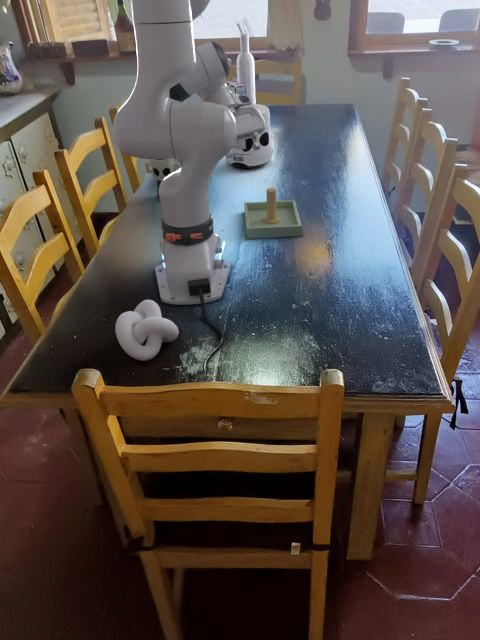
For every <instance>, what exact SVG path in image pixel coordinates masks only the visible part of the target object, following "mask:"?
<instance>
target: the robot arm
mask: <svg viewBox="0 0 480 640" xmlns="http://www.w3.org/2000/svg"><path fill="white" fill-rule="evenodd" d="M210 1H211V0H130V3H131V14H132V22H133V30H134V38H135V45H136V57H137V58H136V59H137V73H136V79H135V80H136V81H135V85H134V87H133V89H132V92H131V94H130V96H129V98H128V99H127V101H126V102H125V103H123V105H122V106H121V107H120V108H119V109H118V110H117V112H116V114H115V116H114V118H113V124H112V134H113V138H114V142H115V143H116V145H117V147H118V149H119V150H120V151H121V152H122V153H123V154H124V155H125V156H128V157H133V158H138V159H143V160H150V159H174V160H178V159H180V160H181V161H182V167H181V168H180V169H178V168H177V169H175V170H176V171H175V172H173V173H171V174H169V175H168V176H166V177H165V178H164V179H163V180H162V182H161V183H160V186H159V191H158V193H159V198H158V200H159V203H160V205H159V206H160V210H161V216H162V217H161V219H160V220H161V221H160V223H161V231H162V236H161V237H160V239H159V240H158V242H159V248H160V254H161V260H159V265H157V266H156V267H155V268H154V273H155V277H156V283H157V287H158V293H159V297H160V301H161V302H162V303H165V304H168V305H180V306H181V305H182V306H186V305H188V306H189V305H200V307H201V308H200V309H201V314H202V317H203V319H204V321H205V323H207V325H208V326H210V327H211V328H212V329H213V330H214V331H216V332H217V333H218V334H219V336H220V340H219V343H218V344H217V345H216V347H217V346H218V345H219V344H220V342H221V339H222V337H223V341H222V343H221V344H220V346H219V347H218V348H217V349H216V350H215V351H214V352H213V353H212V354H211V355H210V353H209V354H208V355H207V356H206V358H207V357H208V356H209V355H210V357H209V358H208V360H207V362H206V369H207V371H208V372H209V373H210V371H209V370H208V365H209V362H210V360H211V359H212V358H213V357H214V356H215V355H216V354H217V353H218V352H219V351H220V350H221V349H222V347H223V345H224V343H225V338H226V336H225V333H224V331H223V330H222V329H221V328H220V327H219V326H217V325H216V324H215V323H213V322H212V321H211V320H210V318H209V317H208V315H207V310H206V303H211V302H215V301H216V300H219V299H221V298H222V296H223V293H224V290H225V287H226V284H227V282H228V279H229V275H230V273H231V270H232V263H231V262H229V261H226V260H224V257H223V255H224V254H223V253H224V252H223V251H224V249H225V246H226V241H225V240H223V242H222V238H221V236H219V235H218V234H217V233H216V232H215V231H214V229H215V228H214V219H213V214H212V213H211V209H210V182H211V178H212V175H213V172H214V170H215V168H216V166H217V165H218V164H219V162H220V161H222V159H224V158H225V156H226V158H227V159H228V158H232V156H233V152H232V150H231V149H232V148H233V146H234V144H235V142H236V141H237V140H241V139H244V138H248V137H251V139H252V140H253V139H254V144H253V145H252V147H253V148H254V151H256V150H259V149H260V148H261V146H260V144H259V142H258V141H259V134H261V133H262V132H263V131H264V129H265V127H266V123H265V121H264V119H263V117H262V115H261V113H260V112H259V110H258V108H257V107H256V106H254V105H252V102H253V100H252V98H251V97H250V96H248V95H240V94H235V93H232V92H231V90H230V89H229V88H228V87H227V85H226V83H225V82H227V81H228V79H229V77H230V73H231V69H232V68H231V67H232V66H231V63H230V60H229V59H228V56H227V54H226V52H225V51H224V49H223V46H222V45H220V44H218V43H217V42H215V41H213V40H210V41H207V42H203V43H202V44H200V45H198V46H196V47H195V34H194V33H195V32H194V23H193V21H195V20H196V19H198V17H200V16H201V15H202V14H203V13H204V12H205V10H206V9H207V8H208V6H209V3H210ZM194 95H197V96H198V97H199V99H201V101H187V100H188V99H190V98H191V97H192V96H194ZM170 99H171V100H173V101H171V100H170ZM206 358H205V359H204V361H203V364H202V371H203V373H204V375H205V371H204V363H205V360H206Z"/></svg>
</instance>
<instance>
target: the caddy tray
mask: <svg viewBox="0 0 480 640" xmlns="http://www.w3.org/2000/svg"><path fill="white" fill-rule="evenodd" d="M243 206H244V207H243V208H244V220H245V221H244V222H245V232H246V233H245V234H246V235H245V236H246V239H247V240H249V239H251V240H252V239H269V238H287V237H288V238H289V237H302V227H303V226H302V222H301V219H300V215H299V211H298V207H297V203H296V199H289V200H277V189H276V188H274V187H269V188H266V201H251V202H250V201H249V202H243Z"/></svg>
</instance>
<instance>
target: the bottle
mask: <svg viewBox="0 0 480 640" xmlns="http://www.w3.org/2000/svg"><path fill="white" fill-rule="evenodd" d="M249 39H250V37H249V33H248V32H242V33H240V34H239V40H240V41H239V43H240V53H239V54H238V55H237V58H236V75H237V77H236V78H237V82H239V83H241V84H243V85H245V86H246V95H248V96H250V97H251V98H252V100H253V102H252V104H257V101H256V73H255V72H256V71H255V69H256V68H255V59H254V56H253V54H252V53H251V52H250V40H249Z"/></svg>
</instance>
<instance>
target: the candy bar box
mask: <svg viewBox="0 0 480 640" xmlns="http://www.w3.org/2000/svg"><path fill="white" fill-rule="evenodd" d="M225 83H226V85H227V87H228V88H229V89H230V90H231V92H232V93H235V94H240V95H246V86H245V85H243V84H241V83H239V82H238V80H237V81H236V80H229V81H225Z"/></svg>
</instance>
